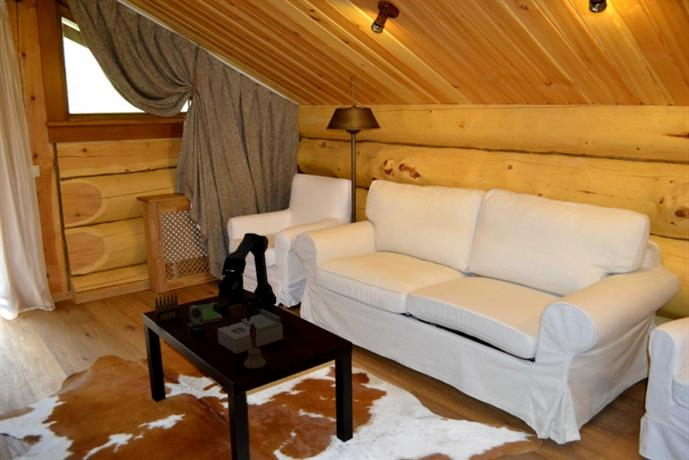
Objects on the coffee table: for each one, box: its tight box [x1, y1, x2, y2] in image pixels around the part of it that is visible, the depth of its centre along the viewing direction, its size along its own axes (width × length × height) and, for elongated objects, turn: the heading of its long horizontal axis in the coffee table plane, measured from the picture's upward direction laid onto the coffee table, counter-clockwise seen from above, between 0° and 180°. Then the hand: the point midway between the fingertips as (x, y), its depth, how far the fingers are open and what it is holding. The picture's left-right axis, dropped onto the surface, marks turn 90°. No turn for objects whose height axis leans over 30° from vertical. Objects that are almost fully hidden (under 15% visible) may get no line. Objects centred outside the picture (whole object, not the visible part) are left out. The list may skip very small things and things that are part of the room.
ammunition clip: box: [154, 293, 181, 325], centre depth 257 cm, size 11×2×12 cm, turn 129°
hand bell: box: [243, 323, 267, 370], centre depth 214 cm, size 8×8×16 cm
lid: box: [241, 309, 282, 331], centre depth 237 cm, size 10×13×3 cm
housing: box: [217, 321, 284, 354], centre depth 235 cm, size 22×14×6 cm, turn 131°
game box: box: [196, 302, 225, 325], centre depth 265 cm, size 3×10×20 cm
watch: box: [186, 305, 205, 334], centre depth 245 cm, size 6×8×11 cm
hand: (238, 324), depth 230 cm, fingers open, 9 cm apart
